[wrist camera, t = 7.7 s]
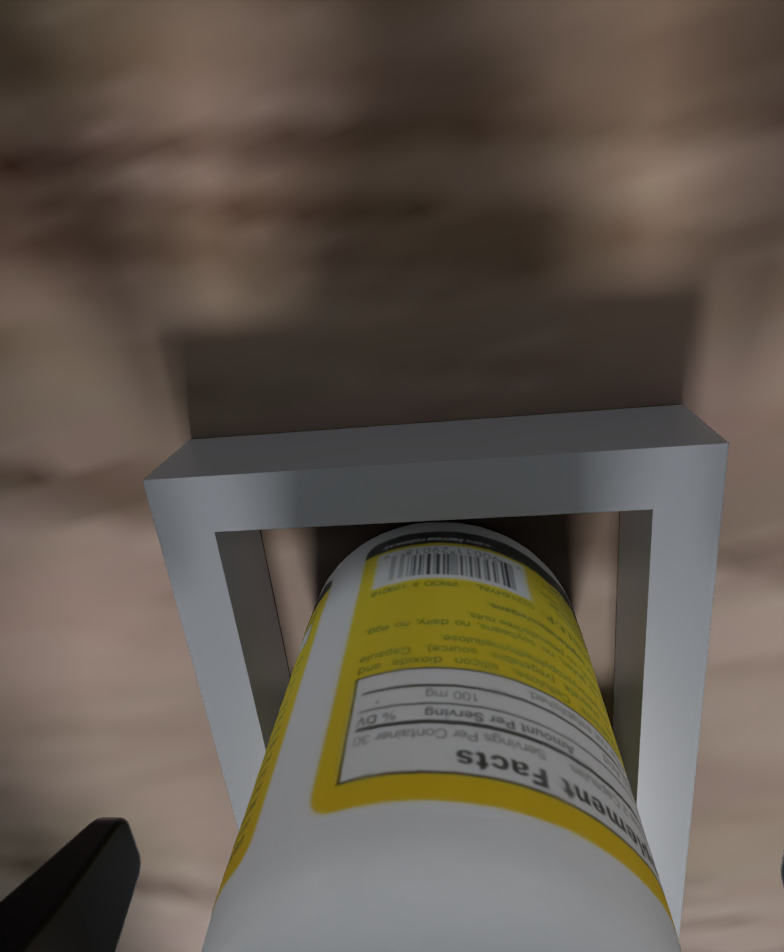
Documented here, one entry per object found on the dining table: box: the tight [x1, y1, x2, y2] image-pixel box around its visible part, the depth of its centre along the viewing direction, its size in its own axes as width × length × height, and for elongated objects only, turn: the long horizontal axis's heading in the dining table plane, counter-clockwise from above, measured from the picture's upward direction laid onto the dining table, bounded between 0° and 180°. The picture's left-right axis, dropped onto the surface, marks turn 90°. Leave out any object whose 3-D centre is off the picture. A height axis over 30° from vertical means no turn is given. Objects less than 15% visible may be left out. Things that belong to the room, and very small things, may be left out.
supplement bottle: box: [202, 522, 681, 952], centre depth 9 cm, size 5×5×10 cm
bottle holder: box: [143, 404, 729, 940], centre depth 15 cm, size 21×9×2 cm, turn 6°
